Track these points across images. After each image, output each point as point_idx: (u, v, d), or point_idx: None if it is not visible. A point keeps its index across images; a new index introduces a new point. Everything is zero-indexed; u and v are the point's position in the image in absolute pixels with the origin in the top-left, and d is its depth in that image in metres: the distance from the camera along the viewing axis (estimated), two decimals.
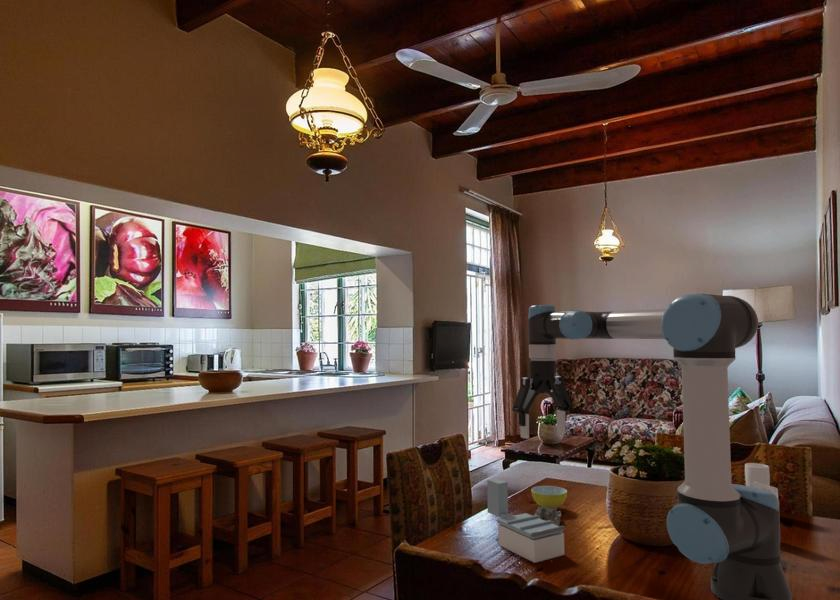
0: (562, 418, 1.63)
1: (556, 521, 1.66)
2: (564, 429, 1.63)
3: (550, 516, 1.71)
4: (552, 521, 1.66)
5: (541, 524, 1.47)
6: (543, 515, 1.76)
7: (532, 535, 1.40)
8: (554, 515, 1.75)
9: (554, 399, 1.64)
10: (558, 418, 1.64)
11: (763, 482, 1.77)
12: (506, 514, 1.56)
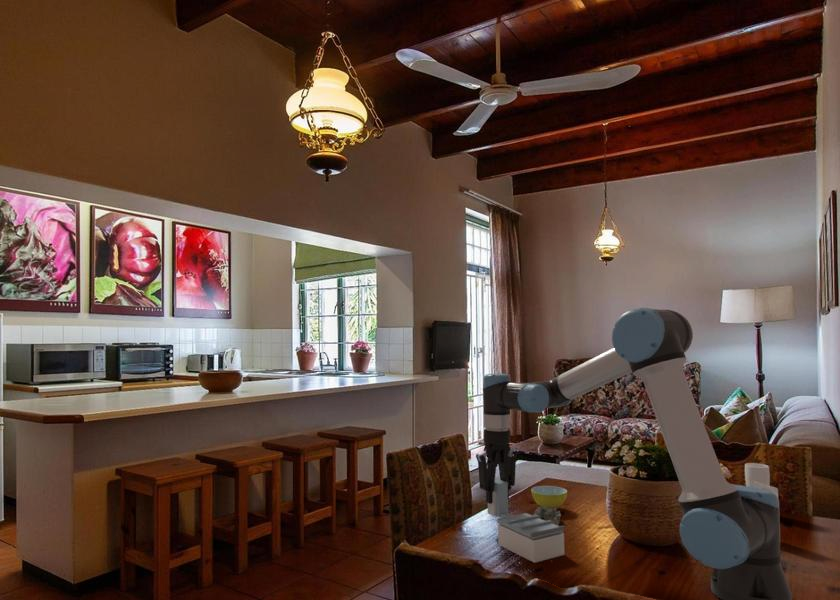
0: None
1: (555, 521, 1.66)
2: None
3: (549, 516, 1.71)
4: (551, 521, 1.66)
5: (541, 524, 1.47)
6: (543, 515, 1.76)
7: (532, 535, 1.40)
8: (554, 515, 1.75)
9: (500, 473, 1.62)
10: None
11: (763, 482, 1.77)
12: (506, 514, 1.56)
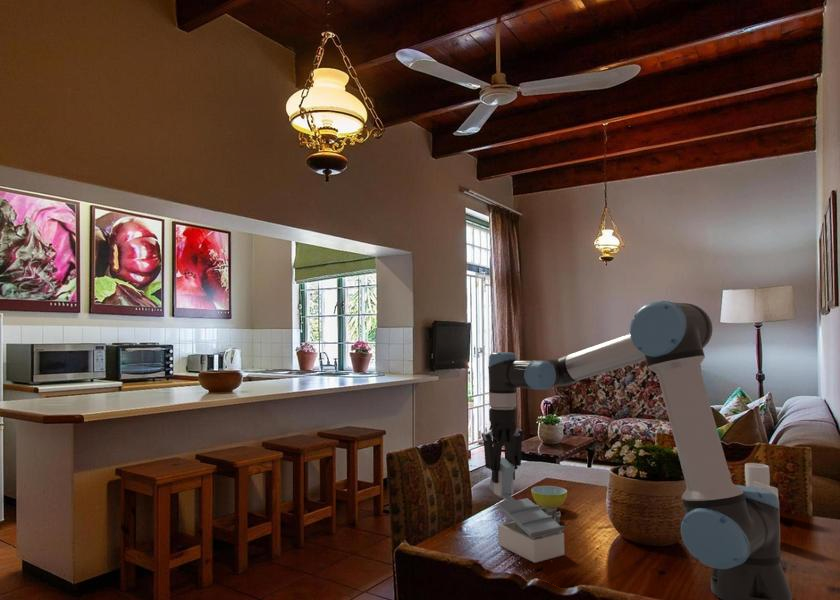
0: None
1: (555, 521, 1.66)
2: (512, 488, 1.58)
3: None
4: None
5: (542, 519, 1.47)
6: None
7: (532, 535, 1.40)
8: (554, 515, 1.75)
9: (506, 452, 1.60)
10: None
11: (763, 482, 1.77)
12: (508, 497, 1.56)
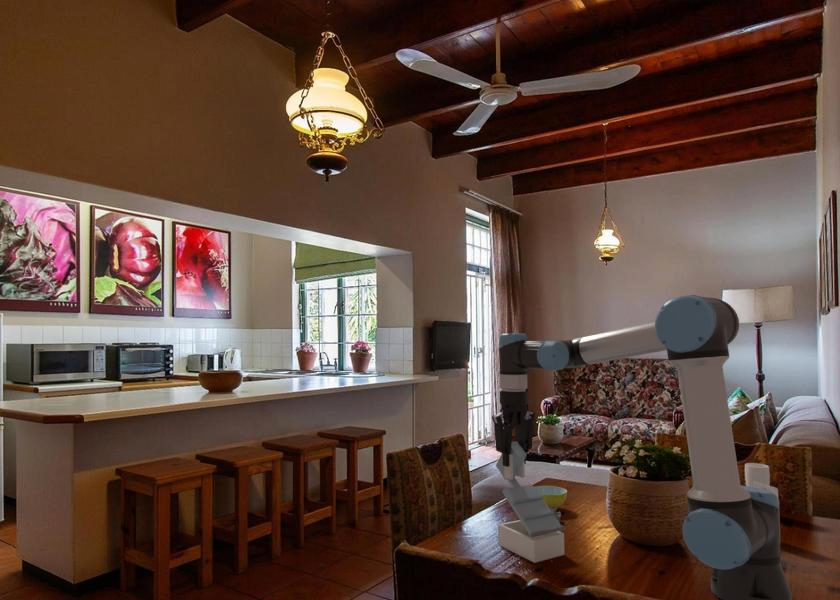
0: None
1: None
2: (523, 472, 1.54)
3: None
4: None
5: (543, 515, 1.46)
6: None
7: (532, 535, 1.40)
8: None
9: (517, 436, 1.56)
10: None
11: (763, 482, 1.77)
12: (513, 481, 1.54)
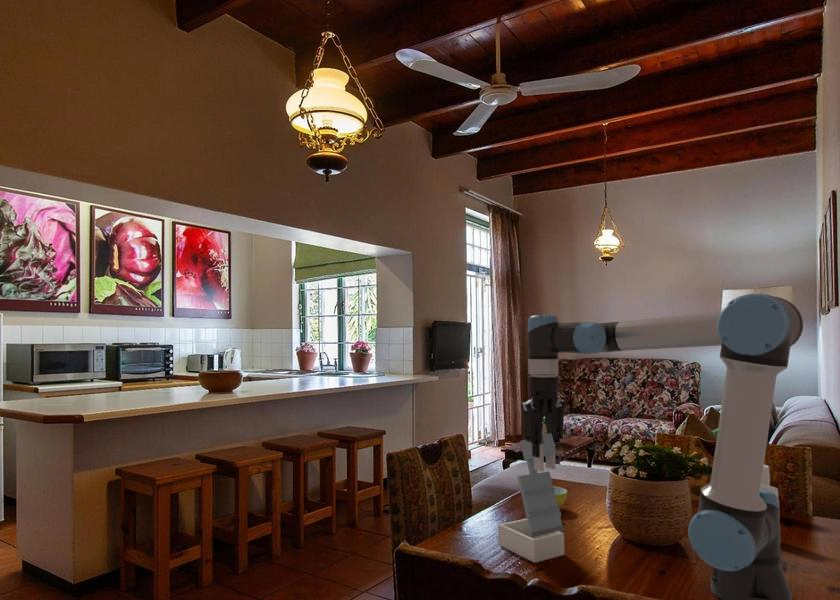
0: None
1: None
2: (554, 463, 1.44)
3: None
4: None
5: (549, 512, 1.45)
6: None
7: (532, 536, 1.40)
8: None
9: (547, 425, 1.46)
10: None
11: (763, 482, 1.77)
12: (532, 465, 1.48)
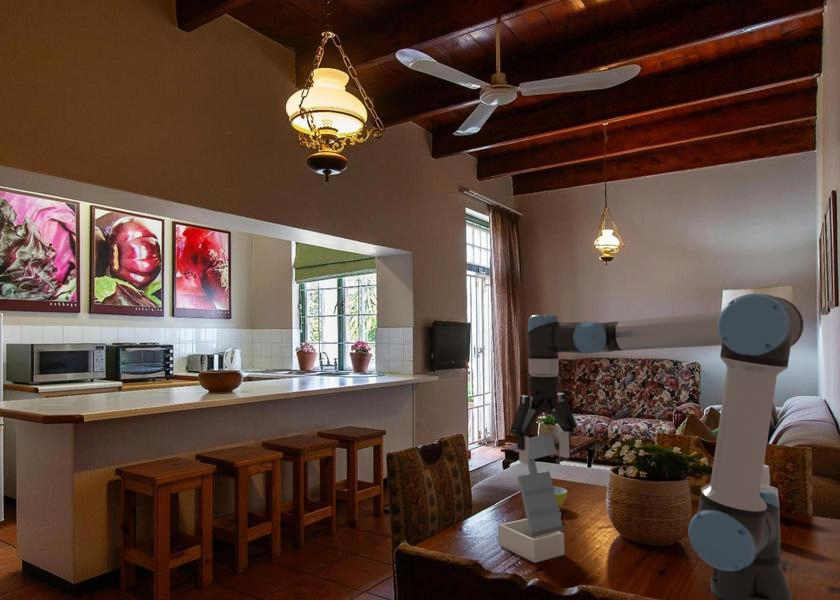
0: (565, 440, 1.47)
1: None
2: (568, 452, 1.47)
3: None
4: None
5: (549, 512, 1.45)
6: None
7: (532, 536, 1.40)
8: None
9: (556, 419, 1.48)
10: (561, 440, 1.49)
11: (763, 482, 1.77)
12: (532, 465, 1.48)
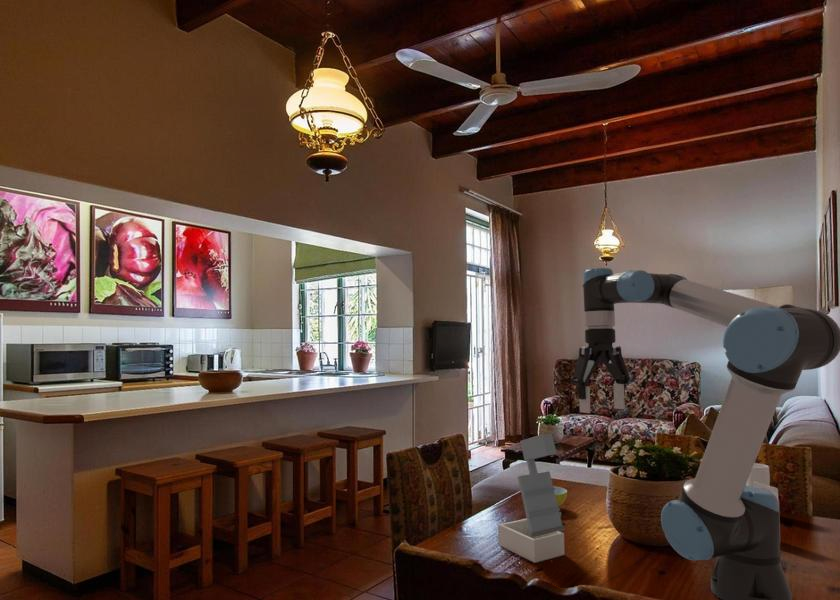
0: (621, 392, 1.50)
1: None
2: (623, 404, 1.50)
3: None
4: None
5: (549, 512, 1.45)
6: None
7: (532, 536, 1.40)
8: None
9: (611, 372, 1.51)
10: (615, 392, 1.51)
11: (763, 482, 1.77)
12: (532, 465, 1.48)
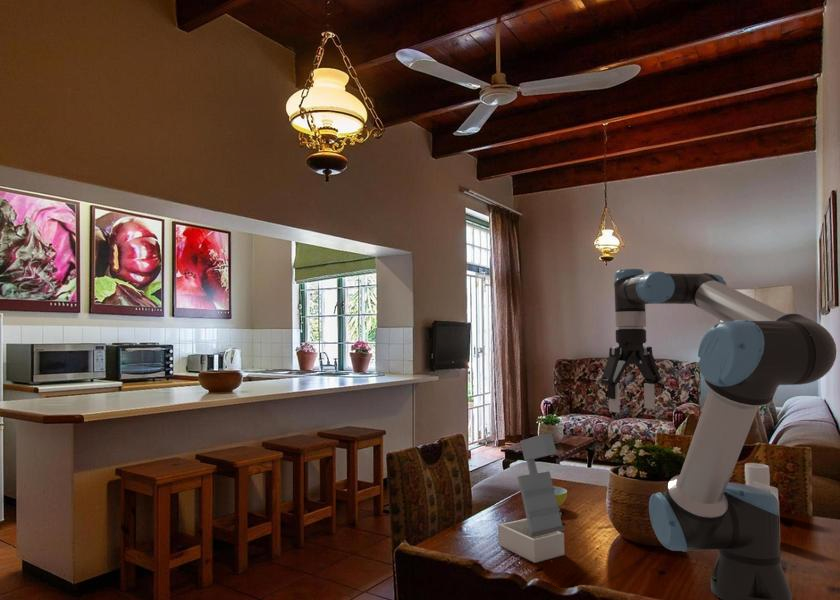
0: (651, 392, 1.51)
1: None
2: (653, 403, 1.51)
3: None
4: None
5: (549, 512, 1.45)
6: None
7: (532, 536, 1.40)
8: None
9: (641, 372, 1.52)
10: (646, 392, 1.52)
11: (763, 482, 1.77)
12: (532, 465, 1.48)
